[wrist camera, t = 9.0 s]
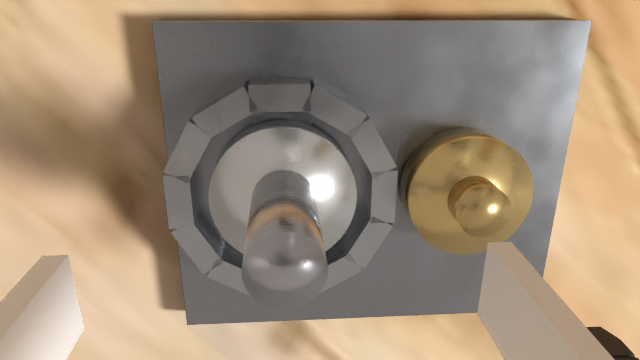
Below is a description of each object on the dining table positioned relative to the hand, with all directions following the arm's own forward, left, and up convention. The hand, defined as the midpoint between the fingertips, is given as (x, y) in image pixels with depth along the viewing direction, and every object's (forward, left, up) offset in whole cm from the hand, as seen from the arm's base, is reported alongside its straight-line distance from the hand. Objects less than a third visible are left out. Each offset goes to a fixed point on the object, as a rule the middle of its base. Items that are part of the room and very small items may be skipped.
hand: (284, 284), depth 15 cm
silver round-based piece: (0, 0, -9) cm, 9 cm away
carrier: (0, +4, -11) cm, 11 cm away
